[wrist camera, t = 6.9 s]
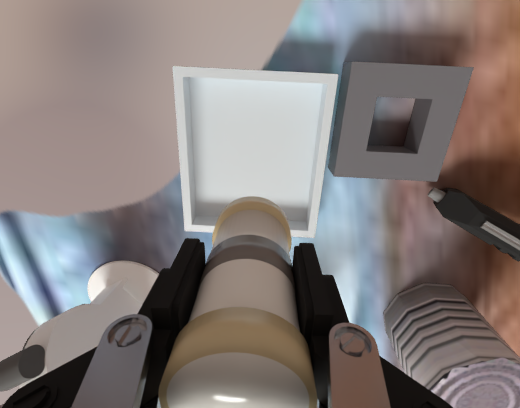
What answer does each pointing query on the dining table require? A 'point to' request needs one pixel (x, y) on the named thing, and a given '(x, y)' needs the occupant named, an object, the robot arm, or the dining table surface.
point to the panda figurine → (80, 323)
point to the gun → (478, 220)
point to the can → (452, 348)
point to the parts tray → (252, 141)
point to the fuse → (243, 321)
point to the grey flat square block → (420, 127)
